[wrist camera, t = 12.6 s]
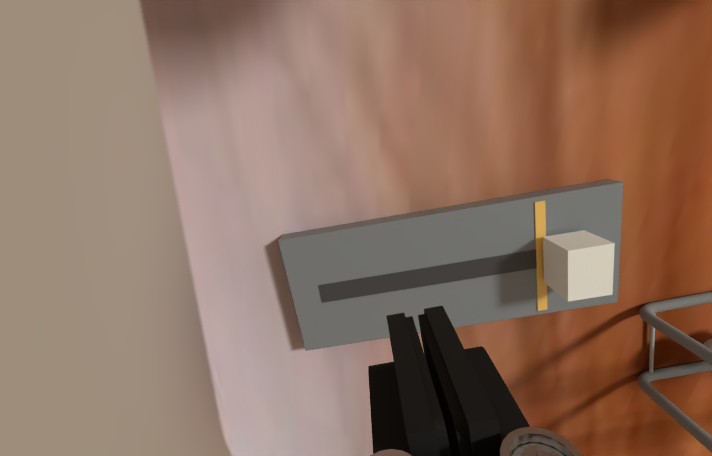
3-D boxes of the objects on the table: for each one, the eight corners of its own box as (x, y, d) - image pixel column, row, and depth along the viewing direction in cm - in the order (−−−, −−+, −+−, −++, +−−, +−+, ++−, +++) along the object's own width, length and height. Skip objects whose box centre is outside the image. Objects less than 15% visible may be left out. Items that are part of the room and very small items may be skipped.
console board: (282, 234, 36) (277, 241, 34) (608, 179, 34) (624, 182, 32) (308, 339, 39) (305, 351, 37) (604, 293, 38) (618, 302, 36)
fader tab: (542, 236, 33) (568, 250, 29) (582, 229, 33) (614, 243, 29) (543, 281, 35) (567, 301, 31) (582, 275, 35) (612, 294, 31)
